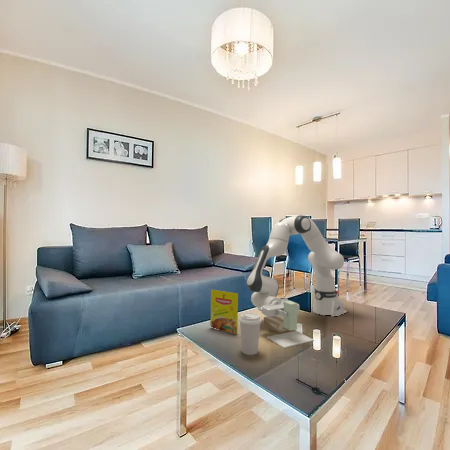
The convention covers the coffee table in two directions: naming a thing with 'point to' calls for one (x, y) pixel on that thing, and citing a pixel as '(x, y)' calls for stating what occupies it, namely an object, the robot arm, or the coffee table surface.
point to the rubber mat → (289, 339)
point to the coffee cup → (250, 332)
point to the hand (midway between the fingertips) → (291, 313)
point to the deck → (275, 323)
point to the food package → (224, 311)
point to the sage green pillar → (290, 315)
